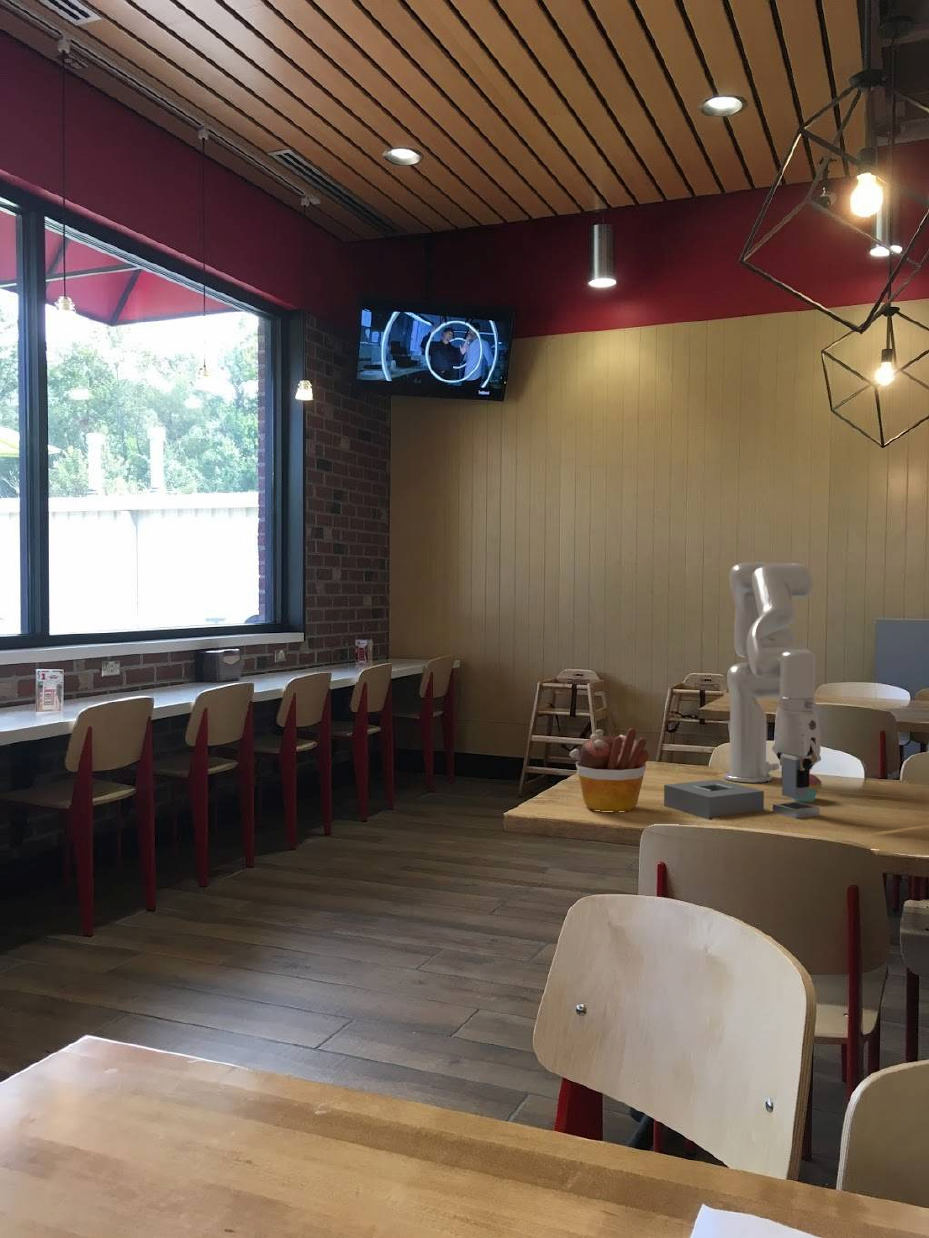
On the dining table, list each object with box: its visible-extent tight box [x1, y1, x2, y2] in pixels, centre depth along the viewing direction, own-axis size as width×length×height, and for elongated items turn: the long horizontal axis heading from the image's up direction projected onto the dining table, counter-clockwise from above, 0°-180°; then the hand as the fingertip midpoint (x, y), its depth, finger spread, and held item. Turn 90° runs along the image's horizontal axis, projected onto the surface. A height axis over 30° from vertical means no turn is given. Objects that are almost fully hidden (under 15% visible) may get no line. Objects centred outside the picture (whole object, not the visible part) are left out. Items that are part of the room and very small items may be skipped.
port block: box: [663, 779, 765, 820], centre depth 233 cm, size 16×16×5 cm
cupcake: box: [791, 773, 823, 803], centre depth 241 cm, size 9×8×12 cm
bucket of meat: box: [569, 727, 650, 812], centre depth 234 cm, size 20×16×20 cm
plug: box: [781, 753, 808, 799], centre depth 227 cm, size 4×4×10 cm
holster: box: [772, 801, 821, 819], centre depth 226 cm, size 7×7×2 cm
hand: (795, 784), depth 227 cm, fingers closed on plug, 4 cm apart
